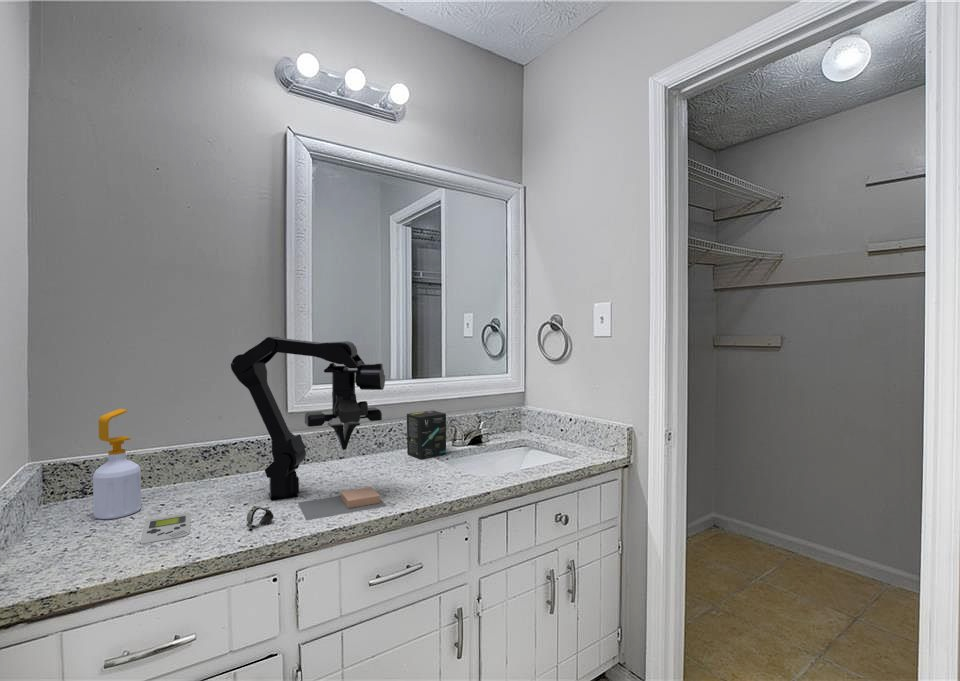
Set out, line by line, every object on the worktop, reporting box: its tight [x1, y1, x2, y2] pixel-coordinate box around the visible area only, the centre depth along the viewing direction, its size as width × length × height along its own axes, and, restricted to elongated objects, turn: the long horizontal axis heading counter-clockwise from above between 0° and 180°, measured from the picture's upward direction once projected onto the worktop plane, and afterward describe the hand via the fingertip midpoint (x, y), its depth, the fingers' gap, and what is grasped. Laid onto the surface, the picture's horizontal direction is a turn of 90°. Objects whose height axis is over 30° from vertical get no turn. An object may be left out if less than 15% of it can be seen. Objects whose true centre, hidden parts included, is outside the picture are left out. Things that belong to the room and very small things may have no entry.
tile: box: [340, 486, 381, 508], centre depth 123 cm, size 2×8×8 cm
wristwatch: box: [246, 505, 275, 530], centre depth 108 cm, size 3×5×5 cm
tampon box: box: [406, 409, 447, 460], centre depth 171 cm, size 11×9×15 cm
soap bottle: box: [92, 408, 142, 520], centre depth 116 cm, size 9×9×25 cm
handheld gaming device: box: [139, 512, 192, 545], centre depth 108 cm, size 9×1×15 cm
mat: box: [297, 495, 388, 521], centre depth 121 cm, size 19×13×1 cm
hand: (344, 449), depth 127 cm, fingers closed
